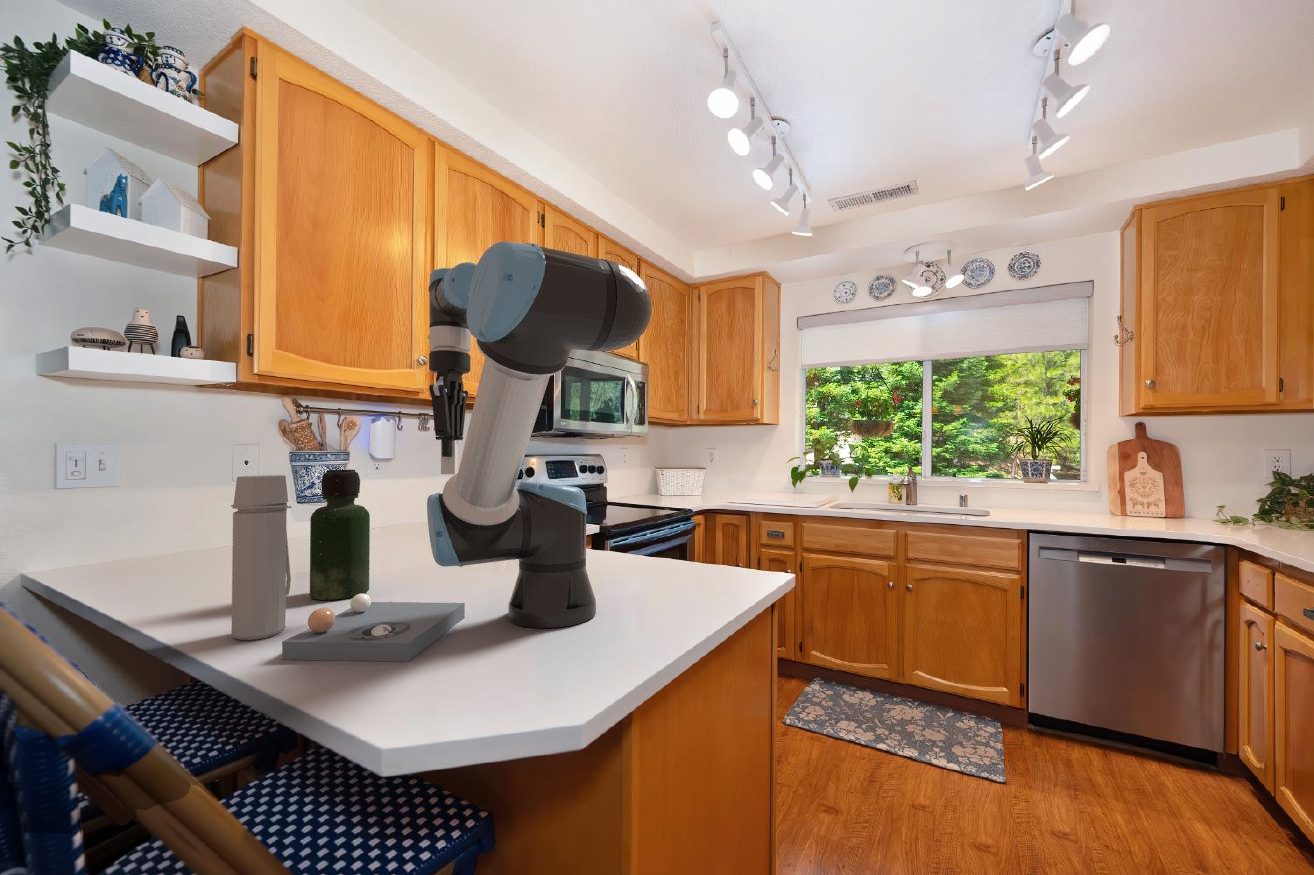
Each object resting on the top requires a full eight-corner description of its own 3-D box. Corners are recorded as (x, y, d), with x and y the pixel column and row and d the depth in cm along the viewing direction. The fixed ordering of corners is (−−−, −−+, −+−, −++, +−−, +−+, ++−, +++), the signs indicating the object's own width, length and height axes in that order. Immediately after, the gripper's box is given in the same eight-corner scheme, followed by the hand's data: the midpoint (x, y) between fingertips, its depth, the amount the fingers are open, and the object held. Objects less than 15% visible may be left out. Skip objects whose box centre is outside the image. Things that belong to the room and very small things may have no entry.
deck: (464, 617, 97) (464, 602, 97) (408, 661, 77) (408, 643, 77) (363, 616, 98) (363, 601, 98) (282, 659, 78) (282, 641, 78)
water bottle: (259, 643, 84) (261, 477, 85) (216, 640, 86) (218, 477, 86) (308, 624, 93) (310, 474, 94) (269, 622, 95) (270, 474, 95)
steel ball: (398, 633, 86) (394, 621, 84) (389, 652, 83) (385, 640, 81) (377, 631, 86) (373, 619, 84) (368, 650, 83) (363, 638, 81)
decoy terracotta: (340, 628, 84) (340, 605, 84) (325, 636, 80) (325, 611, 80) (317, 628, 84) (317, 604, 84) (301, 636, 80) (302, 611, 81)
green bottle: (344, 602, 107) (345, 471, 107) (296, 600, 109) (297, 471, 109) (380, 588, 117) (381, 469, 117) (335, 587, 119) (336, 468, 119)
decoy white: (374, 609, 94) (374, 591, 94) (364, 614, 91) (364, 596, 91) (357, 609, 94) (357, 591, 94) (346, 614, 91) (346, 596, 91)
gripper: (445, 357, 115) (444, 472, 115) (414, 346, 102) (414, 475, 102) (481, 357, 115) (480, 472, 114) (455, 345, 102) (454, 475, 101)
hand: (449, 473), depth 108 cm, fingers closed
